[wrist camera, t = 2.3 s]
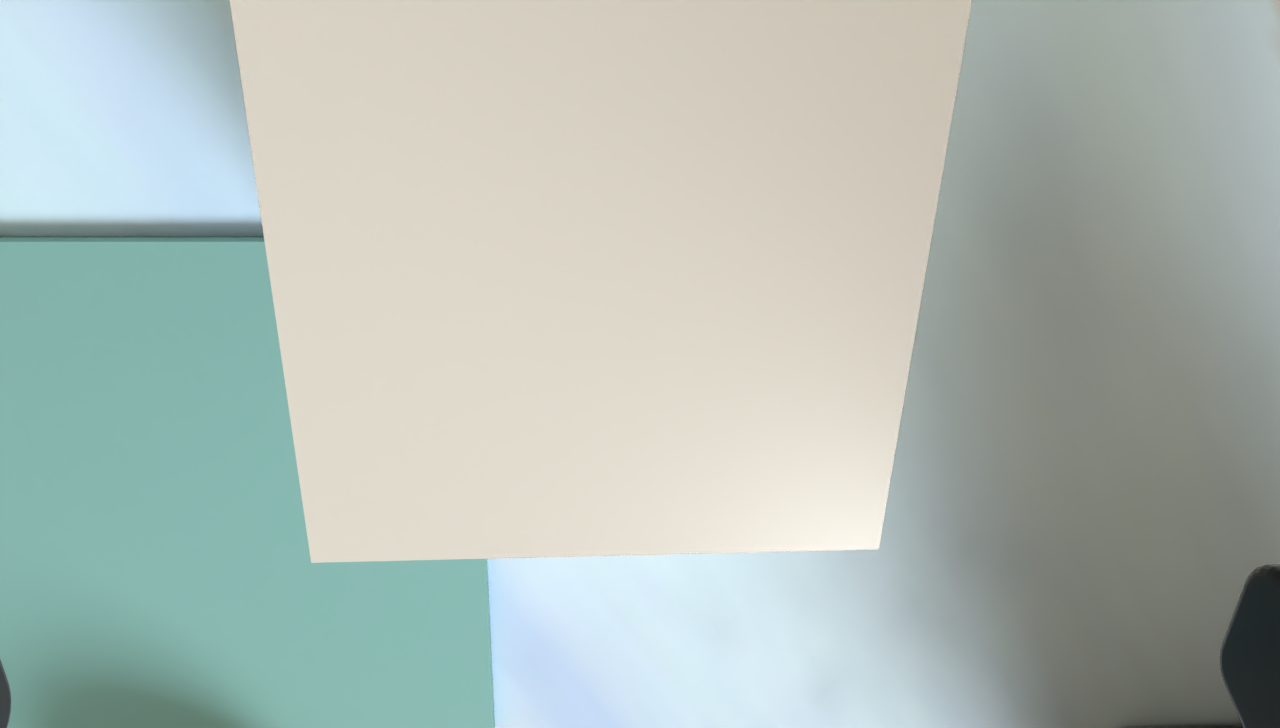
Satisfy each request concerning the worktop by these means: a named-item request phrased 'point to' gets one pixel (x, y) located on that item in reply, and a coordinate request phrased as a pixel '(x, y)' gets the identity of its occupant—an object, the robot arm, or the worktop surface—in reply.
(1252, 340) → the worktop surface
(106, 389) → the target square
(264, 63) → the plain beige box
